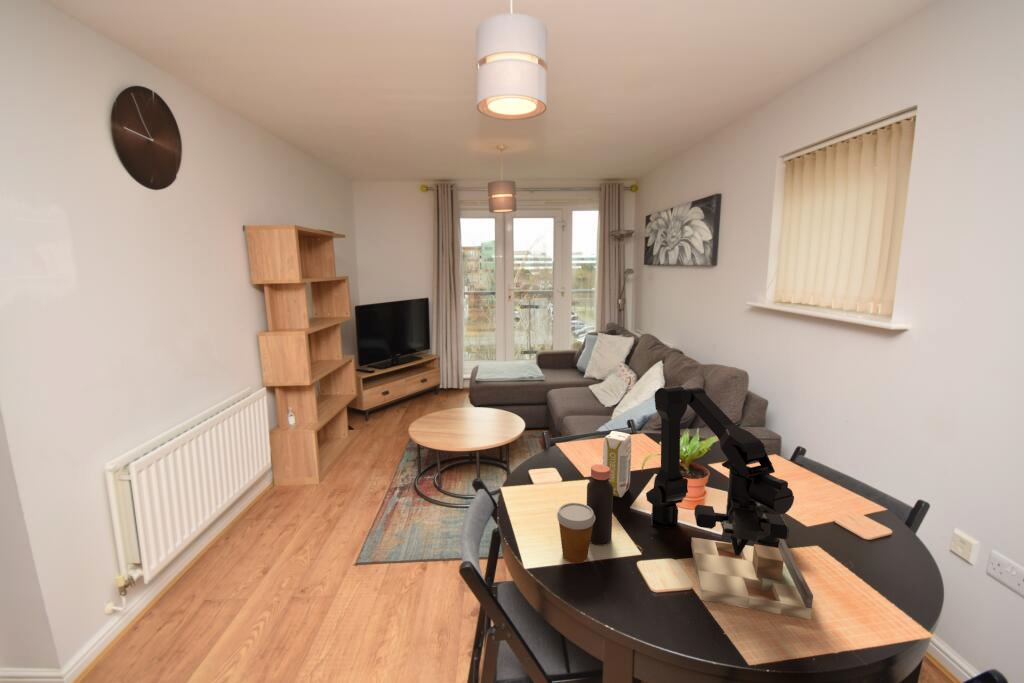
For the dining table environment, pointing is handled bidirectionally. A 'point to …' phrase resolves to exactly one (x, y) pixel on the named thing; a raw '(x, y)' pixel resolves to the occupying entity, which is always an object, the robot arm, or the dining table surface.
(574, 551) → the disposable coffee cup
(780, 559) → the walnut block
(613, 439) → the juice carton
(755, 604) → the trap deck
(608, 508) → the black water bottle
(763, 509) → the supplement bottle
